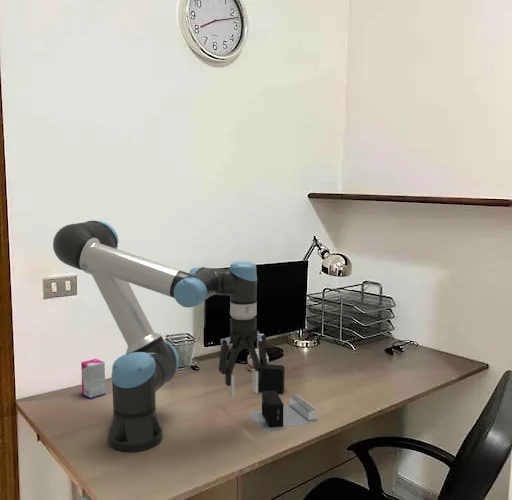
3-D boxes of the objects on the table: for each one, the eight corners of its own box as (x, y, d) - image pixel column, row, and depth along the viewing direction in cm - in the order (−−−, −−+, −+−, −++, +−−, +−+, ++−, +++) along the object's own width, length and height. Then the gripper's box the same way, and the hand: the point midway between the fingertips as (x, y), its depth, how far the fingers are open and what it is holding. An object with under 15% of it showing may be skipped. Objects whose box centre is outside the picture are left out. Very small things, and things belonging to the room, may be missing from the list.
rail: (308, 421, 164) (308, 410, 163) (289, 406, 175) (289, 395, 174) (317, 419, 165) (317, 408, 164) (297, 404, 176) (298, 393, 175)
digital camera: (258, 412, 169) (258, 391, 168) (275, 411, 170) (275, 389, 170) (264, 428, 159) (265, 405, 158) (283, 426, 160) (283, 403, 159)
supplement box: (106, 394, 187) (105, 361, 185) (90, 399, 183) (89, 366, 181) (97, 389, 191) (95, 357, 189) (81, 394, 186) (80, 362, 185)
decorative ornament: (251, 364, 216) (251, 327, 214) (270, 366, 214) (270, 329, 212) (245, 371, 209) (245, 333, 207) (265, 373, 207) (265, 334, 205)
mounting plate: (265, 437, 157) (265, 432, 157) (246, 417, 170) (246, 412, 170) (320, 425, 164) (320, 420, 164) (297, 407, 177) (297, 403, 177)
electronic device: (282, 398, 184) (282, 369, 183) (253, 396, 186) (253, 367, 185) (284, 393, 188) (284, 365, 187) (255, 391, 190) (255, 363, 189)
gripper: (215, 323, 150) (215, 404, 153) (280, 316, 158) (279, 392, 161) (206, 316, 156) (206, 394, 160) (268, 310, 165) (268, 384, 168)
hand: (243, 393), depth 160 cm, fingers open, 7 cm apart
